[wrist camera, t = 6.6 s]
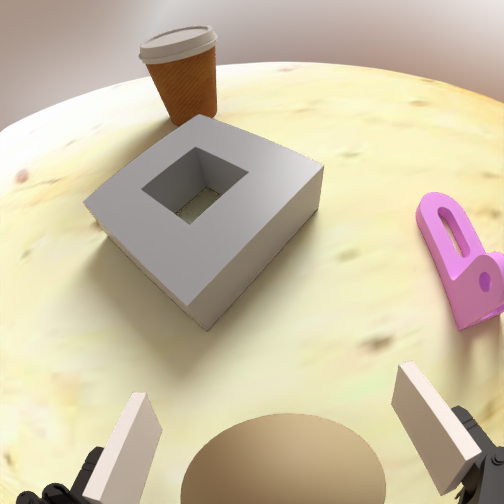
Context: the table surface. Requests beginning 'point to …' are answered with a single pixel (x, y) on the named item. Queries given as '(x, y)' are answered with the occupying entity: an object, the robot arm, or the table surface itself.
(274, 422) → the walnut pin
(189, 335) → the table surface
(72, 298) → the table surface
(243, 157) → the socket block
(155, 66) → the disposable coffee cup
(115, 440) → the robot arm
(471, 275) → the bracket
